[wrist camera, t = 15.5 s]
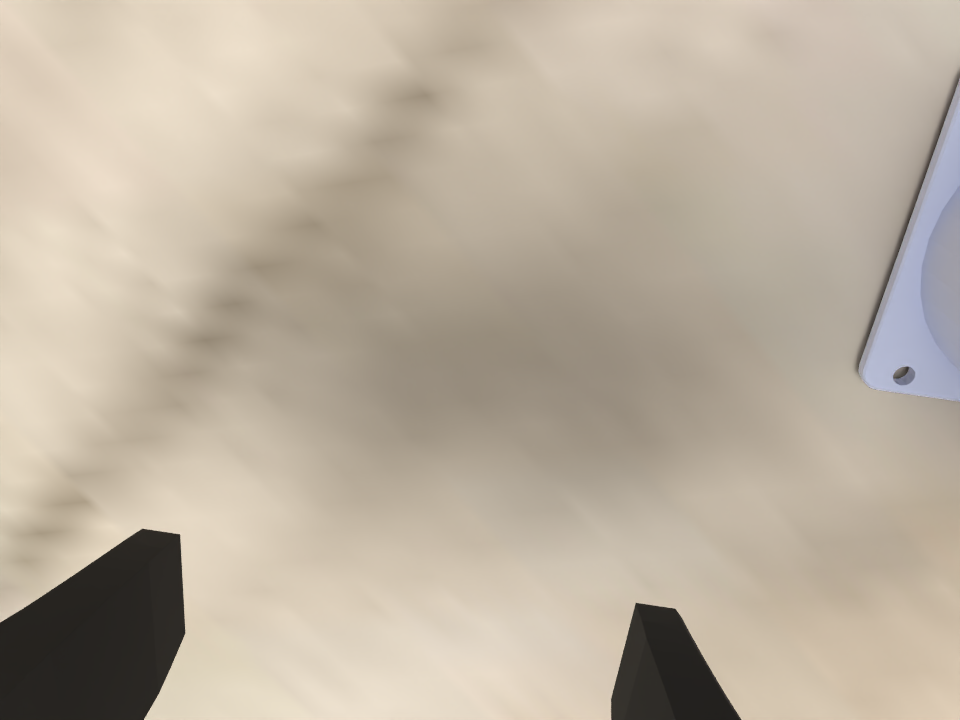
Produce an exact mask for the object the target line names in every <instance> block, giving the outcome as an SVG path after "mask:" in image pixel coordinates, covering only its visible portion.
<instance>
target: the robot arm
mask: <svg viewBox="0 0 960 720" xmlns="http://www.w3.org/2000/svg"><path fill="white" fill-rule="evenodd" d="M906 366H908V367H909V371H908V372H907V374H906V375H905V376H903V377H901V378H896V379H894V378H893V374H894V373H895V371H896V370H897V369H899V368H901V367H906ZM858 372H859V374H860V377H861V379H862V380H863V381H864V383H865V384H867V385H868V386H869V387H870V388H873V389H876V390H881V391H888V392H895V393H902V394H909V395H916V396H923V397H930V398H938V399H945V400H952V401H959V402H960V79H959V82H958V85H957V88H956V91H955V94H954V97H953V99H952V102H951V105H950V108H949V111H948V114H947V116H946V119H945V122H944V125H943V128H942V131H941V133H940V136H939V139H938V142H937V145H936V148H935V151H934V153H933V156H932V159H931V162H930V165H929V168H928V170H927V173H926V176H925V179H924V182H923V185H922V188H921V190H920V193H919V196H918V199H917V202H916V205H915V207H914V210H913V213H912V216H911V219H910V222H909V225H908V227H907V230H906V233H905V236H904V239H903V242H902V244H901V247H900V250H899V253H898V256H897V259H896V261H895V264H894V267H893V270H892V273H891V276H890V279H889V281H888V284H887V287H886V290H885V293H884V296H883V298H882V301H881V304H880V307H879V310H878V313H877V316H876V318H875V321H874V324H873V327H872V330H871V333H870V335H869V338H868V341H867V344H866V347H865V350H864V353H863V355H862V358H861V361H860V364H859V371H858ZM184 635H185V619H184V600H183V582H182V563H181V544H180V534H173V533H167V532H160V531H153V530H147V529H141V530H140V531H138V532H137V533H135V534H134V535H132V536H131V537H129V538H128V539H126V540H125V541H123V542H122V543H120V544H119V545H117V546H116V547H114V548H113V549H111V550H110V551H108V552H107V553H106V554H104V555H103V556H101V557H100V558H98V559H97V560H95V561H94V562H92V563H91V564H90V565H88V566H87V567H85V568H84V569H82V570H81V571H79V572H78V573H76V574H75V575H73V576H72V577H70V578H69V579H67V580H66V581H64V582H63V583H61V584H60V585H58V586H57V587H55V588H54V589H52V590H51V591H49V592H48V593H46V594H45V595H43V596H42V597H40V598H39V599H37V600H36V601H34V602H33V603H31V604H30V605H28V606H27V607H25V608H24V609H22V610H20V611H19V612H17V613H15V614H14V615H12V616H10V617H9V618H7V619H5V620H4V621H2V622H1V623H0V720H144V718H145V716H146V715H147V713H148V711H149V710H150V708H151V706H152V704H153V703H154V701H155V699H156V698H157V696H158V694H159V692H160V690H161V688H162V685H163V683H164V681H165V679H166V677H167V674H168V672H169V670H170V668H171V666H172V663H173V661H174V659H175V656H176V654H177V651H178V649H179V647H180V644H181V642H182V640H183V637H184ZM611 720H741V718H740V717H739V715H738V714H737V712H736V711H735V709H734V707H733V706H732V704H731V703H730V701H729V700H728V698H727V696H726V695H725V693H724V691H723V690H722V688H721V686H720V685H719V683H718V682H717V680H716V678H715V676H714V675H713V673H712V671H711V670H710V668H709V666H708V664H707V663H706V661H705V659H704V657H703V656H702V654H701V652H700V650H699V649H698V647H697V645H696V643H695V641H694V640H693V638H692V636H691V634H690V632H689V631H688V629H687V627H686V625H685V623H684V621H683V620H682V618H681V616H680V615H679V613H678V612H677V611H676V609H673V608H666V607H659V606H653V605H646V604H639V603H636V604H635V608H634V612H633V616H632V620H631V624H630V628H629V632H628V636H627V640H626V644H625V647H624V651H623V655H622V659H621V663H620V667H619V671H618V675H617V679H616V683H615V686H614V690H613V694H612V698H611Z"/></svg>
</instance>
